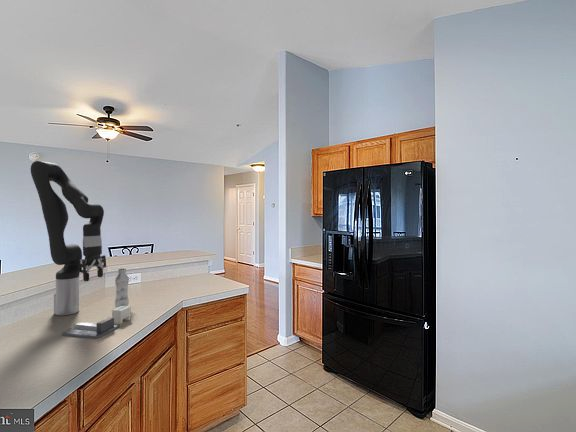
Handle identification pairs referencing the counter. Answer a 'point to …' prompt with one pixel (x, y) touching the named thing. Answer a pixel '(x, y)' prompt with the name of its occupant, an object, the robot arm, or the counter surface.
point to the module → (121, 314)
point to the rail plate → (92, 329)
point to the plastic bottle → (121, 288)
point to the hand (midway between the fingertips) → (93, 278)
